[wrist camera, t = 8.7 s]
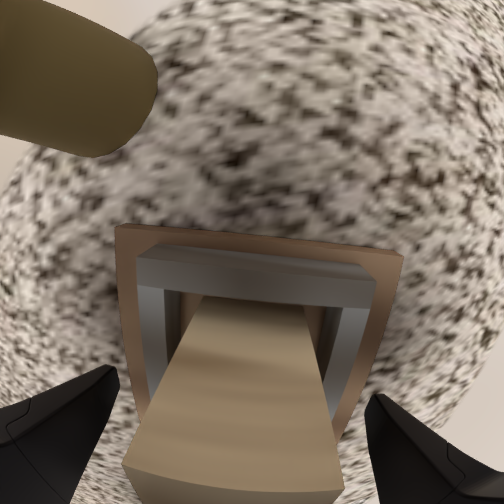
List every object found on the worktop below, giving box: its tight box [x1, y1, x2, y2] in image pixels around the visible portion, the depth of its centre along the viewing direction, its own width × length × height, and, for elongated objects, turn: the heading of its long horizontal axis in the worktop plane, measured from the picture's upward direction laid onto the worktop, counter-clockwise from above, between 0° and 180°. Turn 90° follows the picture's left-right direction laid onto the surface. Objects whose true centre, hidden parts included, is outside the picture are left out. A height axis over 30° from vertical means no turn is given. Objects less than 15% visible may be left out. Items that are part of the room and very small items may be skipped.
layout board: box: [115, 223, 404, 445], centre depth 10 cm, size 18×12×7 cm, turn 175°
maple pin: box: [121, 296, 345, 504], centre depth 8 cm, size 4×4×8 cm
